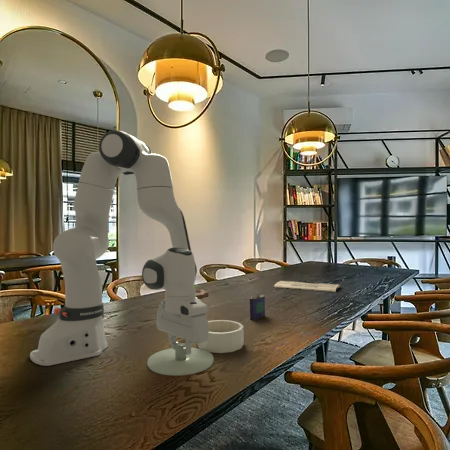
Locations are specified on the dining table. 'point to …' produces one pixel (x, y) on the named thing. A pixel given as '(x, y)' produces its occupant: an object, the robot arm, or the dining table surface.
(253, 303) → the flask
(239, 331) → the bowl
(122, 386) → the dining table surface
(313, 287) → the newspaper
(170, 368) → the lid
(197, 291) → the plant
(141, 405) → the dining table surface
